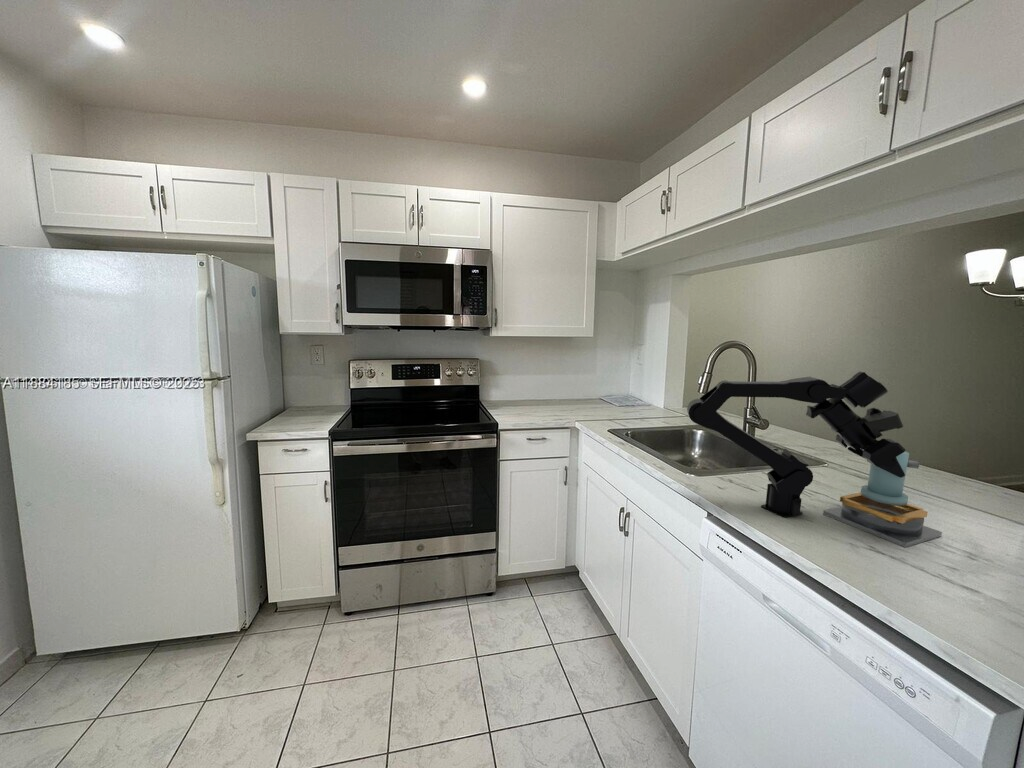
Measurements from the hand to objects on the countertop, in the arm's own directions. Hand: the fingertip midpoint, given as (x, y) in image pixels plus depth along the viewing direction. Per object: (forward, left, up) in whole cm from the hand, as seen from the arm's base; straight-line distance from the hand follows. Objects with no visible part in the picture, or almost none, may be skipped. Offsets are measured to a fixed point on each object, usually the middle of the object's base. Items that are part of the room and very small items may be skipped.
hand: (894, 471), depth 91 cm
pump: (-1, -1, -7) cm, 7 cm away
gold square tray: (-1, -1, -13) cm, 13 cm away
